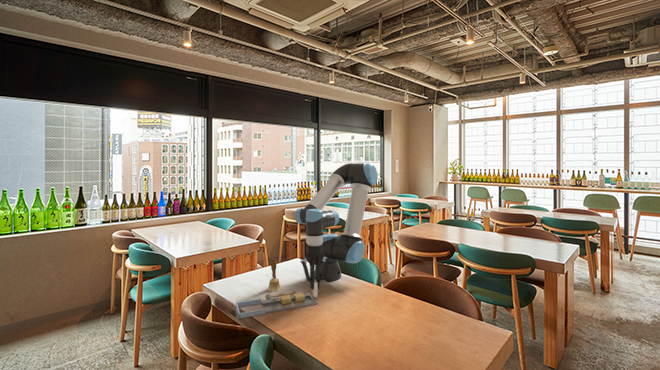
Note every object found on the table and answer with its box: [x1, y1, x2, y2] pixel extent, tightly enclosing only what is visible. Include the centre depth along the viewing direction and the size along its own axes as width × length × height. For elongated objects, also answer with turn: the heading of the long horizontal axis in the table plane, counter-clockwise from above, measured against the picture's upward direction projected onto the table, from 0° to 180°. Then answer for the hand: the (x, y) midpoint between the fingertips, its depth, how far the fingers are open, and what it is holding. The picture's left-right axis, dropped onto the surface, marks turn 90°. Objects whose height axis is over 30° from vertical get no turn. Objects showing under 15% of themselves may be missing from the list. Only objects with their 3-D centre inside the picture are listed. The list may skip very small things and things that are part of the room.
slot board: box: [261, 292, 318, 315], centre depth 135 cm, size 22×11×2 cm, turn 112°
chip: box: [279, 295, 291, 305], centre depth 135 cm, size 4×4×3 cm
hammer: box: [265, 291, 297, 300], centre depth 144 cm, size 13×5×2 cm, turn 111°
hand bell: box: [266, 258, 283, 292], centre depth 151 cm, size 8×8×16 cm
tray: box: [235, 298, 266, 322], centre depth 129 cm, size 11×11×3 cm
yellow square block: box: [292, 292, 305, 303], centre depth 137 cm, size 4×4×3 cm
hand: (315, 295), depth 140 cm, fingers closed
